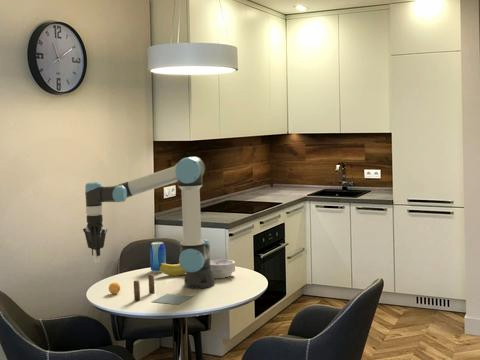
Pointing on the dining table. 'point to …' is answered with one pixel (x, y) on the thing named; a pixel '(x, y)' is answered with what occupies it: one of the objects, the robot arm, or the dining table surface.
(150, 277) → the post
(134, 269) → the dining table surface
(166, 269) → the banana
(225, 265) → the paper bowls
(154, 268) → the beer can
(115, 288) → the ball
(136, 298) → the post
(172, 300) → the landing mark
